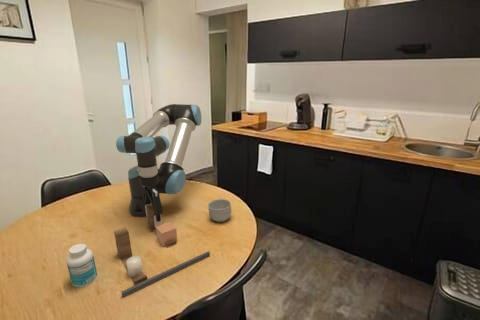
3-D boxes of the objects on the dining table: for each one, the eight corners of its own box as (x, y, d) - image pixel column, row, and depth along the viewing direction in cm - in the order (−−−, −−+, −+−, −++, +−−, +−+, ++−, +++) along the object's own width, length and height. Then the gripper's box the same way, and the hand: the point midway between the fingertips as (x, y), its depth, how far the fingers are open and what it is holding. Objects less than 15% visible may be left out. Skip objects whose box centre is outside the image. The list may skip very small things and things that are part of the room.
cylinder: (126, 271, 90) (124, 259, 88) (139, 266, 92) (138, 254, 91) (130, 279, 86) (128, 266, 85) (144, 273, 89) (142, 260, 87)
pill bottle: (79, 274, 90) (71, 241, 86) (101, 273, 91) (95, 240, 87) (67, 292, 83) (58, 256, 79) (92, 290, 84) (84, 254, 80)
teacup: (228, 225, 120) (227, 210, 117) (205, 223, 122) (204, 207, 119) (234, 211, 132) (234, 196, 130) (214, 209, 135) (213, 194, 132)
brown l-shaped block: (148, 228, 117) (146, 205, 114) (157, 225, 120) (155, 202, 116) (167, 250, 102) (164, 225, 99) (176, 247, 105) (174, 221, 101)
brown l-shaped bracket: (118, 257, 99) (113, 230, 95) (129, 253, 101) (125, 227, 98) (135, 289, 84) (131, 259, 80) (148, 283, 86) (144, 254, 83)
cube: (157, 239, 107) (155, 226, 105) (170, 234, 110) (169, 221, 109) (163, 246, 102) (161, 233, 101) (177, 241, 106) (176, 228, 104)
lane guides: (104, 260, 97) (103, 253, 96) (180, 230, 116) (180, 224, 115) (123, 301, 79) (122, 293, 79) (210, 259, 98) (209, 252, 97)
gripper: (131, 169, 115) (137, 214, 122) (149, 185, 98) (155, 236, 105) (148, 165, 119) (153, 209, 126) (168, 180, 103) (172, 230, 110)
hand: (154, 222), depth 116 cm, fingers open, 9 cm apart
